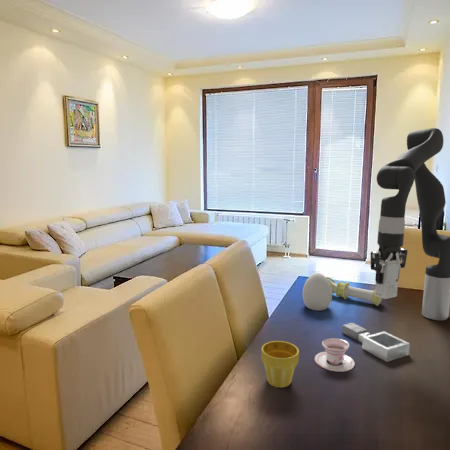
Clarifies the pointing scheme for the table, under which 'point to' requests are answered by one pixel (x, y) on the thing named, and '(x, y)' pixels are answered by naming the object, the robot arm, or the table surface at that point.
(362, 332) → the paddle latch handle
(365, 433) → the table surface
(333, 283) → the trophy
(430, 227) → the robot arm
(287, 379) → the plant pot
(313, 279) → the decorative egg
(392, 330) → the table surface
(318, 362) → the teacup
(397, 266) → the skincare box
